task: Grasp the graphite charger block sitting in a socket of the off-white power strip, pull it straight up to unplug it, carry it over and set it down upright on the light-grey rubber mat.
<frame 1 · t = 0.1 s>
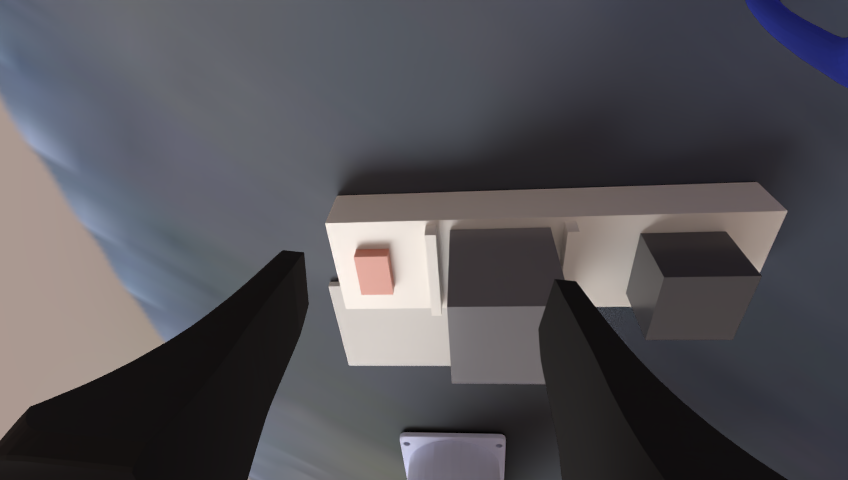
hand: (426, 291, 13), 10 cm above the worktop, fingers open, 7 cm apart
mat: (396, 323, 29), on the worktop
power strip: (534, 235, 24), on the worktop
charger: (498, 267, 22), point 3 cm above the worktop, touching power strip
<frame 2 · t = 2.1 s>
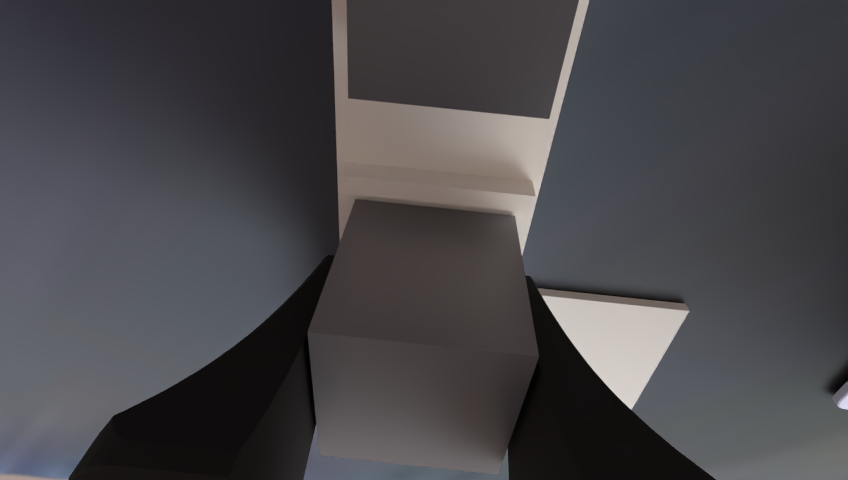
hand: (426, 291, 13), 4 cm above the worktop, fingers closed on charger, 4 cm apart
mat: (570, 354, 20), on the worktop
power strip: (437, 172, 15), on the worktop
charger: (428, 268, 14), point 3 cm above the worktop, touching gripper, power strip
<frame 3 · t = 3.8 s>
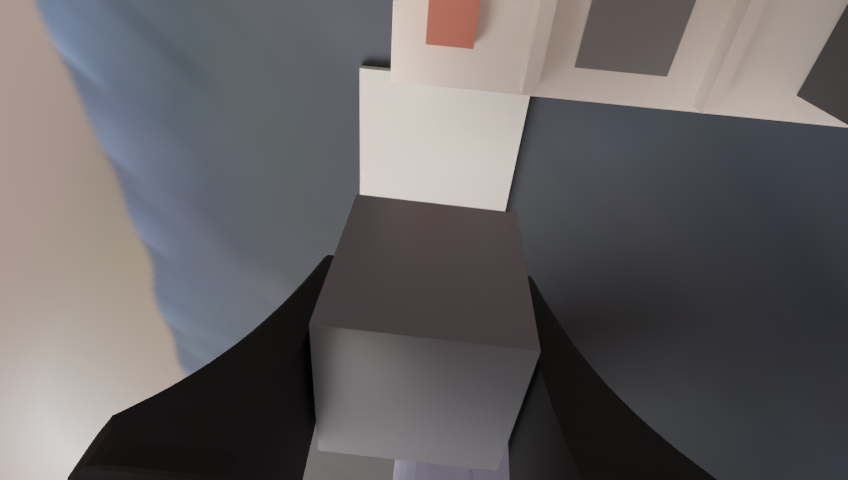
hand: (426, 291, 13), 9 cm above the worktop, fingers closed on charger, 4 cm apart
mat: (437, 152, 21), on the worktop
power strip: (669, 13, 17), on the worktop
charger: (428, 265, 14), point 8 cm above the worktop, touching gripper
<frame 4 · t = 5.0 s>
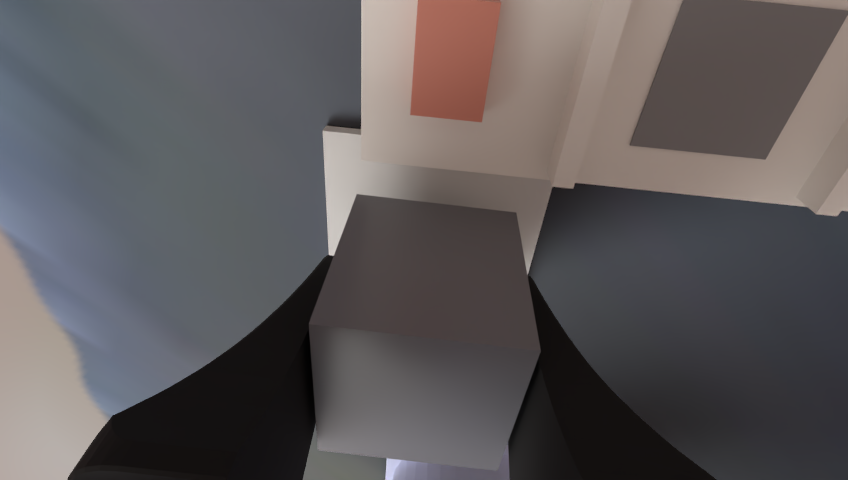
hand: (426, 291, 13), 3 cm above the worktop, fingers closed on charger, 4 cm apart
mat: (431, 232, 16), on the worktop
power strip: (760, 61, 12), on the worktop
charger: (428, 265, 14), point 2 cm above the worktop, touching gripper
when the fingers open (3 cm above the worktop, at t = 5.9 s): charger drops 1 cm, resting on mat.
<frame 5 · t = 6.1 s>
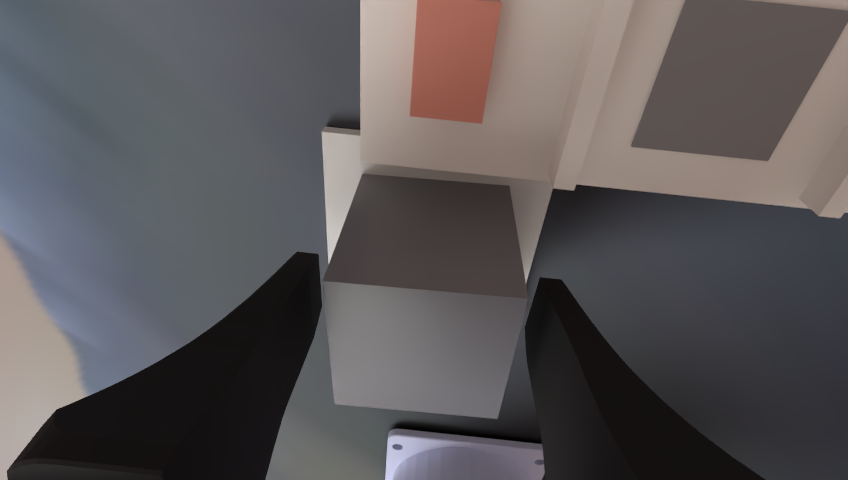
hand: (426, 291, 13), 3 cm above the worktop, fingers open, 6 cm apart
mat: (431, 234, 16), on the worktop
power strip: (762, 62, 12), on the worktop
charger: (430, 239, 15), resting on mat
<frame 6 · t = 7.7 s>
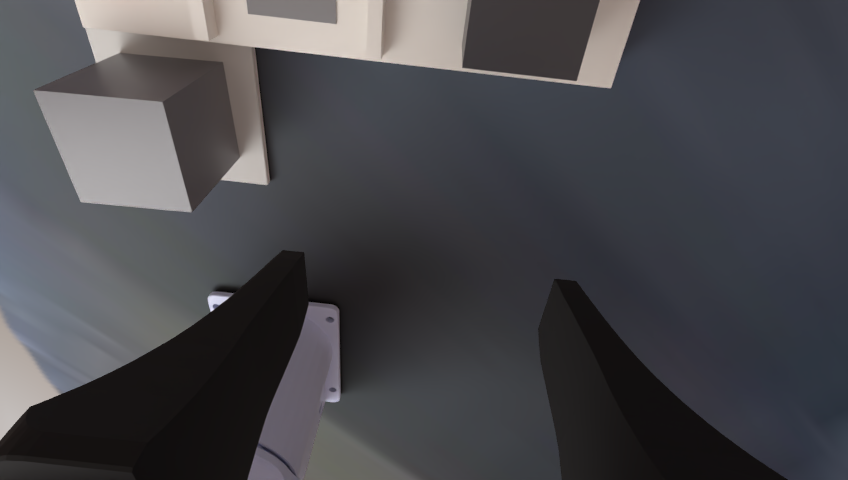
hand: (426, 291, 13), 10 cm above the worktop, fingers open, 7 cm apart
mat: (188, 107, 22), on the worktop
charger: (183, 108, 21), resting on mat
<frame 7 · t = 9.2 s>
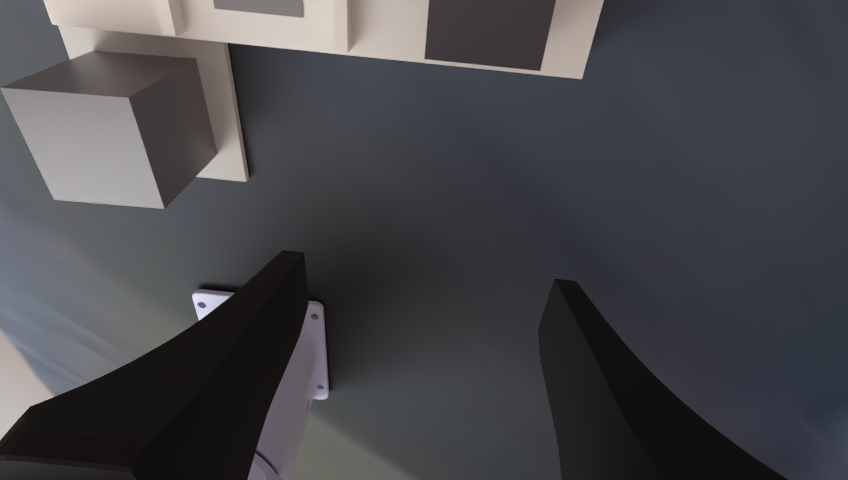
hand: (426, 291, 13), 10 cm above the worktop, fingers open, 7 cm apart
mat: (164, 104, 22), on the worktop
charger: (159, 105, 21), resting on mat
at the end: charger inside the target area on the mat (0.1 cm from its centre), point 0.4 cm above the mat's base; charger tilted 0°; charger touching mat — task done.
